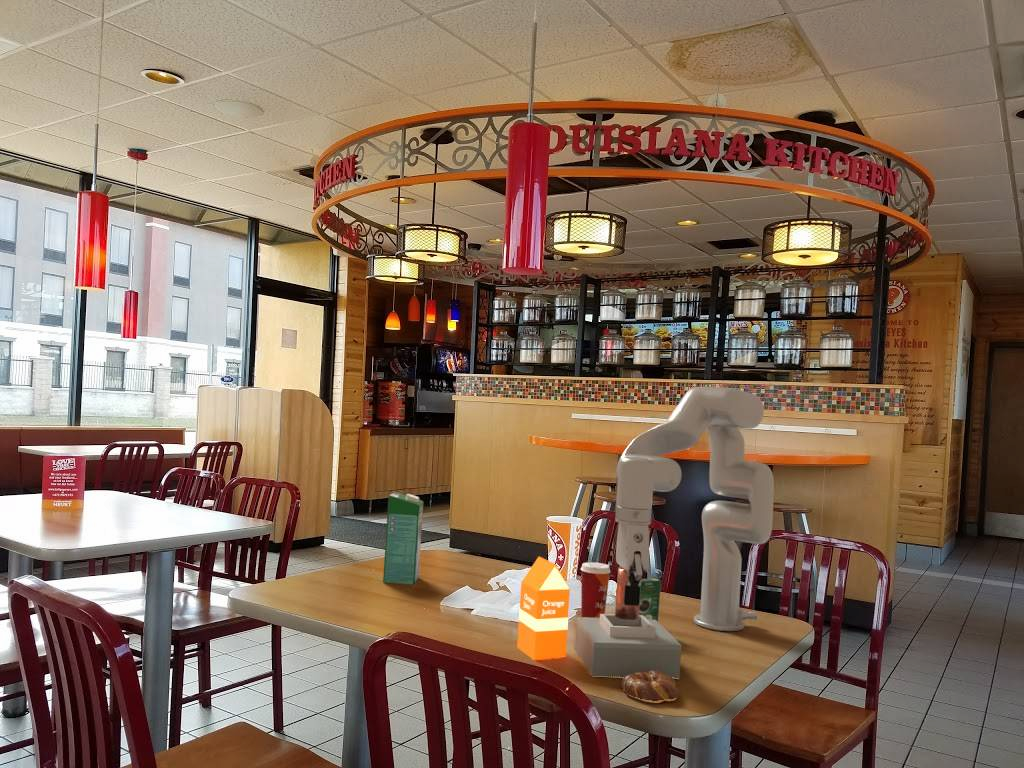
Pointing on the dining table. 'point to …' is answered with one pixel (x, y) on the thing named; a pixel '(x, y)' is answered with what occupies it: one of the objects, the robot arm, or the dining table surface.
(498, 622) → the dining table surface
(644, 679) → the pretzel
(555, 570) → the orange juice
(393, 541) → the milk carton
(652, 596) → the coffee box
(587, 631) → the grey square box
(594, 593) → the paper cup
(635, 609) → the spout can
